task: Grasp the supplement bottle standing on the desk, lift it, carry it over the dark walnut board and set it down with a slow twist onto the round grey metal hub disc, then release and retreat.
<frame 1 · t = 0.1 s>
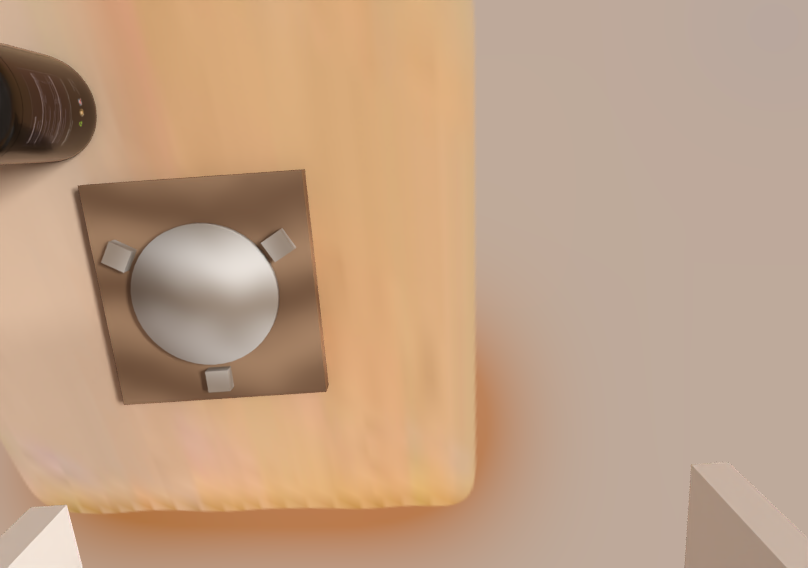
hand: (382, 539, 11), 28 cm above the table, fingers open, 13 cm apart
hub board: (213, 289, 39), on the table
supplement bottle: (52, 110, 36), on the table
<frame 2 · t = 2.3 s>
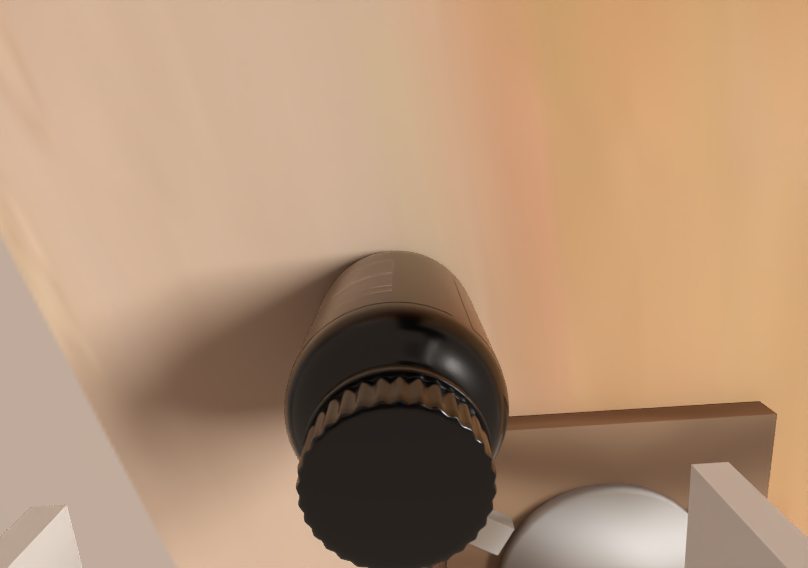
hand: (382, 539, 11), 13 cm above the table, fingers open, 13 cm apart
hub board: (594, 554, 27), on the table
supplement bottle: (398, 321, 24), on the table
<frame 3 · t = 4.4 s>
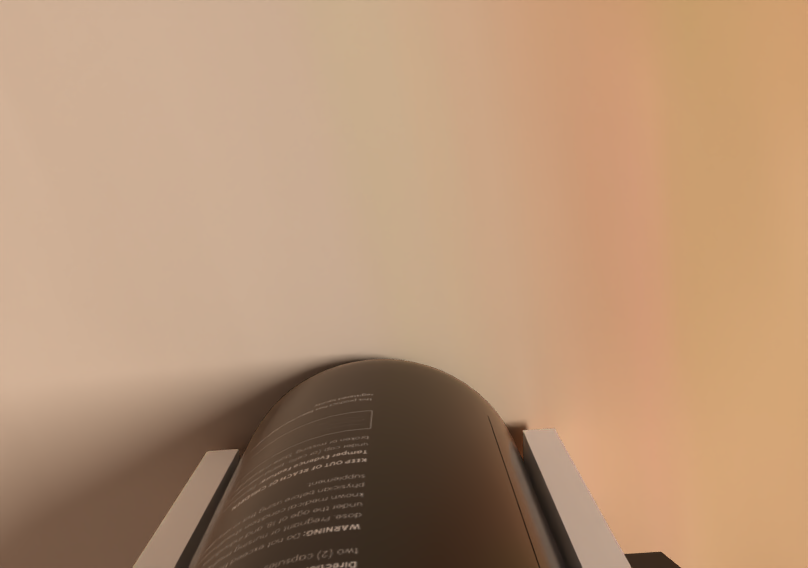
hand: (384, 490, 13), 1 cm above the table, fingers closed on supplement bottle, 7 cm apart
supplement bottle: (386, 472, 14), on the table, touching gripper
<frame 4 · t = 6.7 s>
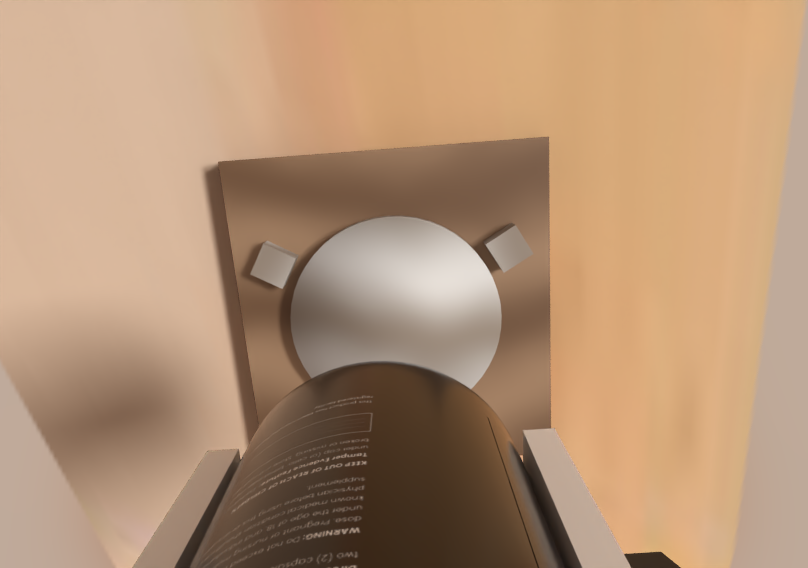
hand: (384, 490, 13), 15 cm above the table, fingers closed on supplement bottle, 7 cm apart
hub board: (396, 310, 27), on the table
supplement bottle: (386, 474, 14), point 14 cm above the table, touching gripper
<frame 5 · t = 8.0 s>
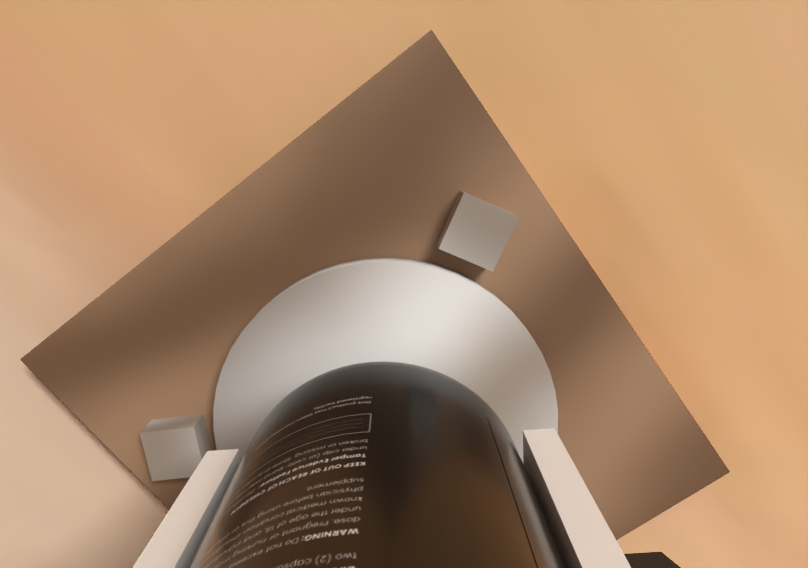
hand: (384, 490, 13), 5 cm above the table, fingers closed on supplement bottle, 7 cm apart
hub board: (387, 399, 18), on the table
supplement bottle: (386, 474, 14), point 4 cm above the table, touching gripper
when the fingers open (3 cm above the table, at t = 8.9 s): supplement bottle stays where it is, resting on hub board.
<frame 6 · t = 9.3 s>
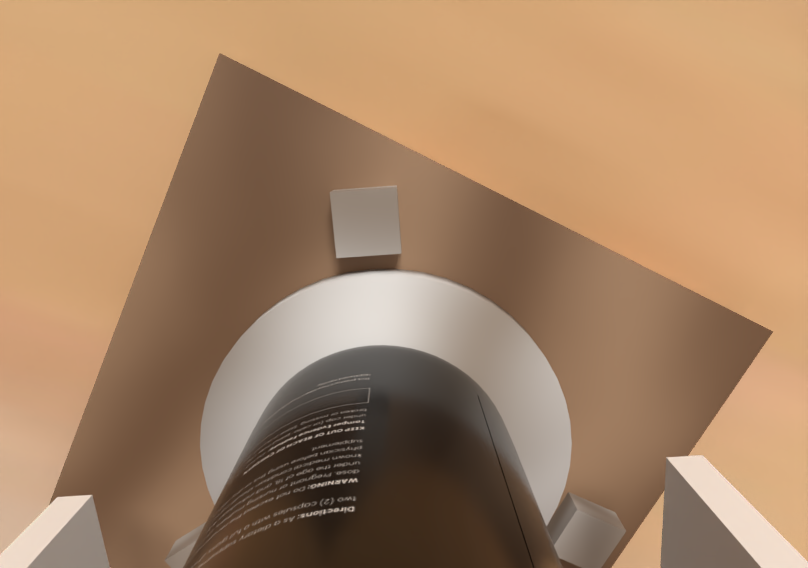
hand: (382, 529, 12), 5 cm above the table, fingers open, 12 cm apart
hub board: (388, 419, 16), on the table
supplement bottle: (385, 453, 15), point 2 cm above the table, touching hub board
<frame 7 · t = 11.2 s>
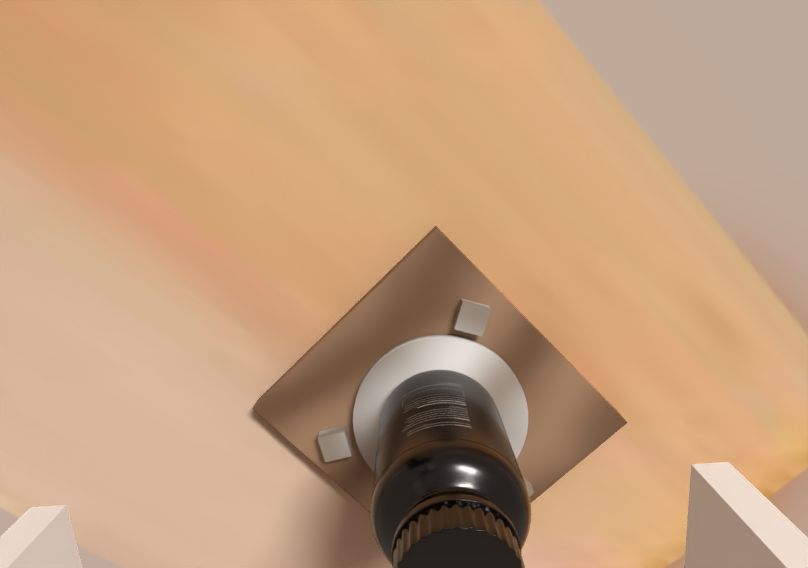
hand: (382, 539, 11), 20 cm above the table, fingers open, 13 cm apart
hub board: (438, 406, 33), on the table
supplement bottle: (439, 420, 31), point 2 cm above the table, touching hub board
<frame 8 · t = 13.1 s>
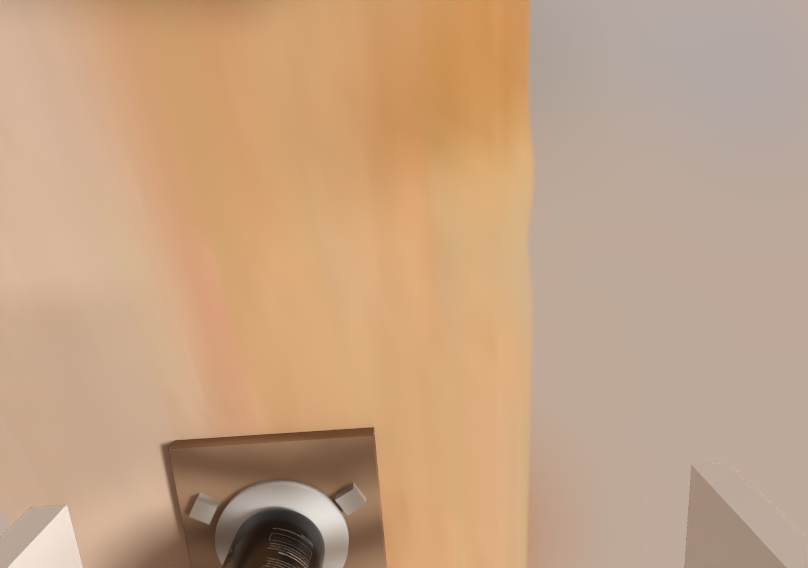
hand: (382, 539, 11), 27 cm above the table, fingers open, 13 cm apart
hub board: (287, 525, 42), on the table
supplement bottle: (281, 541, 40), point 2 cm above the table, touching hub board
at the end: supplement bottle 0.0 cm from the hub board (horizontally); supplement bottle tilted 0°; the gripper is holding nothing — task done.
